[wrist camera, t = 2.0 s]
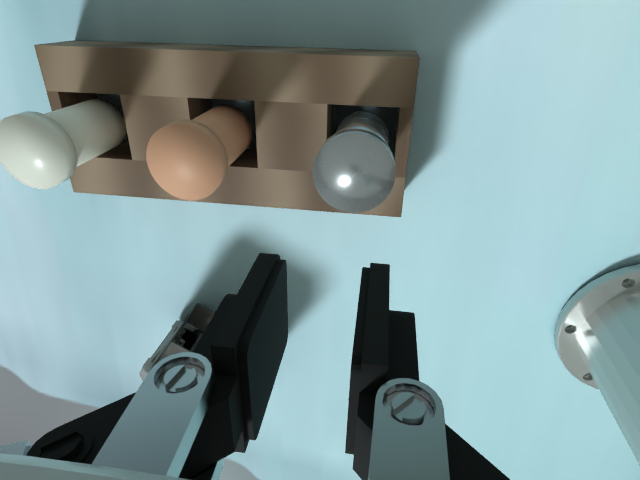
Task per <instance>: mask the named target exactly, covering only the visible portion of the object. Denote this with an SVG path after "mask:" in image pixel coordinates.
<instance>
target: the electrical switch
mask: <svg viewBox="0 0 640 480" xmlns="http://www.w3.org/2000/svg"><path fill="white" fill-rule="evenodd" d="M195 306H196V307H194V308H195V309H194V308H193V309H192V311H191V312H190V313H189V314H188V315H187V318H186V319H185V321H176V322H175V323H174V324H173V326H172V329H171V331H170V332H169V334H168V335H167V336H166V338H165V339H164V341H163V342H162V343H161V345H160V346H159V347H158V349H157V350H156V351H155V353H154V354H153V356H152V357H151V358H148V360H147V361H146V363H145V364H144V365H143V367H142V369H141V371H140V373H139V374H140V376H141V378H142V380H143V381H144V379H145V378H146V376H147V374H148V373H149V371H150V370H151V369H152V368H153V366H154V365H155V364H156V363H158V362H159V361H161V360H162V359H163V358H166V357H168V356H170V355H173V354H177V353H182V352H193V350H194V349H195V347H196V345H197V344H198V342H199V340H200V338H201V337H202V335H203V333H204V331H205V330H206V328H207V326H208V325H209V323H210V321H211V319H212V318H213V316H214V314H215V313H214V312H212V311H211V310H209V309H207V308H205V307H203V306H202V305H200V304H197V305H195ZM198 319H199V320H198ZM190 324H192V325H190Z"/></svg>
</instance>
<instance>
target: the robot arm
mask: <svg viewBox="0 0 640 480" xmlns="http://www.w3.org/2000/svg"><path fill="white" fill-rule="evenodd" d="M389 272H390V265H389V264H377V263H370V268H366V267H363V268H362V276H361V285H360V293H359V302H358V311H357V319H356V328H355V336H354V345H353V353H352V364H351V377H350V391H349V406H348V421H347V435H346V450H345V453H348V454H354V461H353V470H354V471H355V472H356V473H357V474H358V476H359V477H360V478H361V479H362V480H510V479H509V478H508V477H507V476H505V475H504V474H503V473H502V472H501V471H500V470H498V469H497V468H496V467H495V466H494V465H493V464H491V463H490V462H489V461H488V460H487V459H486V458H484V457H483V456H482V455H481V454H480V453H479V452H477V451H476V450H475V449H474V448H473V447H472V446H470V445H469V444H468V443H467V442H466V441H465V440H463V439H462V438H461V437H460V436H459V435H458V434H457V433H455V432H454V431H453V430H452V429H451V428H450V427H448V426H447V425H446V424H445V419H444V408H443V405H442V401H441V399H440V397H439V396H438V395H437V393H436V392H435V391H434V390H433V389H432V388H430V387H429V386H428V385H426V384H424V383H422V382H420V381H419V371H418V357H417V342H416V328H415V315H414V313H411V312H401V311H391V310H389ZM287 338H288V312H287V270H286V260H280V256H279V255H277V254H266V253H260V254H259V255H258V257H257V259H256V261H255V262H254V264H253V266H252V268H251V270H250V272H249V274H248V275H247V277H246V279H245V281H244V283H243V285H242V287H241V288H240V290H239V292H238V294H237V295H235V294H227V295H226V296H225V297H224V299H223V300H222V302H221V304H220V305H219V307H218V309H217V311H216V312H215V314H214V316H213V318H212V319H211V321H210V323H209V325H208V326H207V328H206V330H205V331H204V333H203V335H202V337H201V338H200V340H199V342H198V344H197V345H196V347H195V349H194V350H193V352H182V353H177V354H173V355H170V356H168V357H166V358H163V359H162V360H161V361H159V362H158V363H156V364H155V365H154V366H153V368H152V369H151V370H150V371H149V373H148V374H147V376H146V378H145V379H144V381H143V382H142V384H141V386H140V387H139V389H138V390H137V392H136V393H133V394H131V395H129V396H127V397H124V398H122V399H120V400H118V401H115V402H113V403H111V404H109V405H106V406H104V407H102V408H100V409H97V410H95V411H93V412H91V413H88V414H86V415H84V416H82V417H80V418H77V419H75V420H73V421H71V422H68V423H66V424H64V425H62V426H59V427H57V428H55V429H54V430H52V431H50V432H48V433H47V434H45V435H44V436H43V437H41V438H40V439H39V440H38V441H36V442H35V444H33V445H30V443H29V441H28V440H26V441H21V442H16V443H11V444H6V445H1V446H0V480H219V477H220V475H221V471H222V469H223V464H224V458H225V457H226V456H228V455H230V454H231V453H233V452H242V453H245V451H246V448H247V445H248V442H249V439H250V440H256V438H257V436H258V433H259V430H260V427H261V423H262V420H263V417H264V414H265V411H266V407H267V404H268V401H269V398H270V395H271V392H272V388H273V385H274V382H275V379H276V376H277V373H278V369H279V366H280V363H281V360H282V357H283V353H284V350H285V347H286V344H287ZM554 342H555V347H556V350H557V352H558V355H559V357H560V359H561V361H562V363H563V364H564V366H565V368H566V369H567V370H568V371H569V372H570V373H571V374H572V375H573V376H574V377H575V378H577V379H578V380H579V381H581V382H583V383H585V384H587V385H589V386H591V387H594V388H596V389H599V390H600V392H601V394H602V396H603V398H604V400H605V401H606V403H607V405H608V407H609V409H610V411H611V413H612V415H613V416H614V418H615V420H616V422H617V424H618V426H619V428H620V430H621V431H622V433H623V435H624V437H625V439H626V441H627V443H628V444H629V446H630V448H631V450H632V452H633V454H634V456H635V458H636V459H637V461H638V463H639V465H640V264H637V265H632V266H627V267H623V268H620V269H618V270H615V271H612V272H609V273H607V274H605V275H603V276H601V277H599V278H597V279H595V280H593V281H591V282H590V283H589V284H587V285H586V286H584V287H583V288H582V289H580V290H579V291H578V292H577V293H576V294H575V295H574V296H573V297H572V298H571V299H570V300H569V301H568V302H567V304H566V305H565V306H564V308H563V309H562V311H561V312H560V314H559V317H558V319H557V322H556V324H555V331H554Z"/></svg>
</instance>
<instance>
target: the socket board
mask: <svg viewBox="0 0 640 480" xmlns="http://www.w3.org/2000/svg"><path fill="white" fill-rule="evenodd" d="M34 46H35V50H36V54H37V57H38V61H39V65H40V69H41V72H42V76H43V80H44V83H45V87H46V91H47V95H48V98H49V102H50V106H51V109H52V111H55V110H59V109H62V108H65V107H68V106H71V105H75V104H78V103H81V102H84V101H87V100H91V99H97V95H96V93H99V94H120V98H121V104H122V109H123V114H124V119H125V124H126V129H127V134H128V140H129V142H122V143H121V144H120V145H118V146H116V147H114V148H112V149H110V150H109V151H107V152H105V153H103V154H101V155H99V156H97V157H95V158H93V159H91V160H89V161H87V162H85V163H83V164H81V165H79V166H77V167H76V170H75V172H74V174H73V175H72V176H71V177H70V180H71V183H72V187H73V191H74V192H79V193H92V194H105V195H118V196H131V197H144V198H157V199H170V200H183V199H180V198H177V197H175V196H173V195H171V194H169V193H168V192H166V191H165V190H164V189H162V188H161V187H160V186H159V185H158V183H157V182H156V181H155V180H154V178H153V176H152V175H151V173H150V170H149V168H148V164H147V159H146V151H147V145H148V142H149V140H150V138H151V137H152V135H153V134H154V133H155V132H156V131H157V130H159V129H160V128H162V127H164V126H166V125H168V124H170V123H172V122H174V121H177V120H193V119H194V118H196V117H198V116H200V115H201V114H203V113H205V112H207V111H208V110H210V109H212V101H211V99H228V100H249V101H254V104H255V123H256V142H257V150H249V149H246V150H245V151H244V152H243V153H242V154H241V155H240V156H239V157H238V158H237V159H236V160H235V161H234V162H233V163H232V164H231V165H230V166H229V167H228V172H227V175H226V177H225V179H224V181H223V182H222V184H221V185H220V186H219V187H218V188H217V189H216V190H215V191H214V192H213V193H212V194H211V195H209V196H208V197H206V198H203V199H200V200H183V201H196V202H210V203H223V204H236V205H249V206H262V207H275V208H288V209H301V210H314V211H327V212H340V213H349V212H344V211H340V210H338V209H336V208H334V207H332V206H330V205H329V204H328V203H326V202H325V201H324V200H323V199H322V198H321V196H320V195H319V193H318V192H317V190H316V188H315V185H314V182H313V175H312V170H313V164H314V160H315V158H316V156H317V154H318V152H319V150H320V148H321V146H322V145H323V143H324V142H325V141H326V140H327V139H328V138H329V137H331V136H332V135H334V106H335V105H356V106H378V107H398V113H397V123H396V133H395V143H394V154H393V156H394V160H395V182H394V185H393V188H392V190H391V192H390V194H389V195H388V197H387V198H386V199H385V200H384V201H383V202H382V203H381V204H380V205H378V206H377V207H375V208H373V209H371V210H368V211H365V212H360V213H353V214H366V215H379V216H392V217H401V213H402V204H403V195H404V187H405V178H406V169H407V161H408V152H409V144H410V135H411V126H412V118H413V109H414V100H415V92H416V83H417V74H418V66H419V56H418V54H417V52H416V51H395V50H363V49H331V48H299V47H266V46H234V45H202V44H170V43H138V42H106V41H65V42H57V43H48V44H39V45H34Z"/></svg>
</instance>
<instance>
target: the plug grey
mask: <svg viewBox="0 0 640 480" xmlns="http://www.w3.org/2000/svg"><path fill="white" fill-rule="evenodd" d="M388 137H389V136H388V130H387V127H386V125H385V124H384V122H383V121H382V120H381V119H380V118H379V117H378V116H376V115H375V114H372V113H370V112H364V111H361V112H355V113H352V114H350V115H348V116H347V117H345V118H344V119H343V120H342V121H341V123H340V124H339V126H338V128H337V130H336V133H335V134H334V135H332V136H331V137H329V138H328V139H327V140H326V141H325V142H324V143H323V145H322V146H321V148H320V150H319V152H318V154H317V156H316V158H315V160H314V164H313V170H312V175H313V182H314V185H315V188H316V190H317V192H318V193H319V195H320V196H321V198H322V199H323V200H324V201H325V202H326V203H328V204H329V205H330V206H332V207H334V208H336V209H338V210H340V211H344V212H349V213H360V212H365V211H368V210H371V209H373V208H375V207H377V206H378V205H380V204H381V203H382V202H383V201H384V200H385V199H386V198H387V197H388V195H389V194H390V192H391V190H392V188H393V185H394V182H395V160H394V156H393V154H392V151H391V149H390V148H389V146H388Z"/></svg>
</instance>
